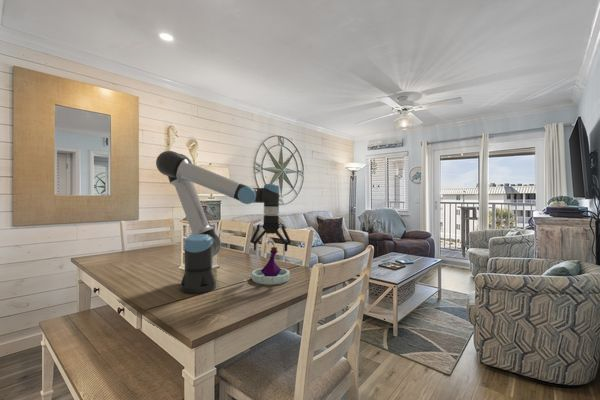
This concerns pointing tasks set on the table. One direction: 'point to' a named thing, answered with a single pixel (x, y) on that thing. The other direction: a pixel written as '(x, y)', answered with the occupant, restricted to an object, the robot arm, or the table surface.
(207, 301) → the table surface
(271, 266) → the perfume bottle
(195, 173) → the robot arm
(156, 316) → the table surface
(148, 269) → the table surface
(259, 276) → the round tray
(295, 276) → the table surface
